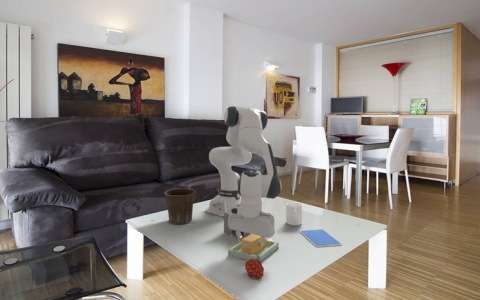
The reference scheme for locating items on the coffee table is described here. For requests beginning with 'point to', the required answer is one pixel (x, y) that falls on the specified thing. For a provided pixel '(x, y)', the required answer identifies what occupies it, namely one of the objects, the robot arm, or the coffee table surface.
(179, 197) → the plant pot
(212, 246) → the coffee table surface
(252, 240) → the orange rectangular block
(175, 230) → the coffee table surface
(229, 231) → the block
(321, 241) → the tablet computer
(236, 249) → the tray
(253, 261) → the red bumpy oval lump
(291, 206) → the mug
